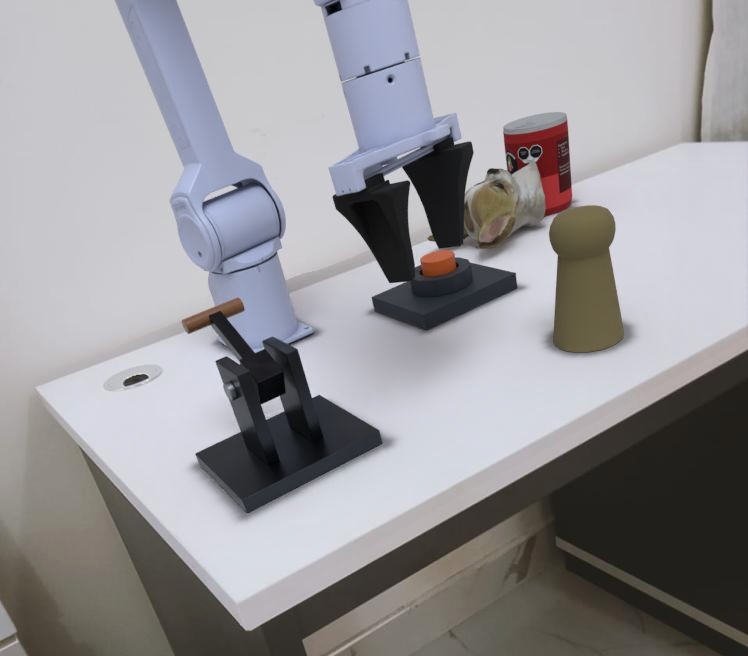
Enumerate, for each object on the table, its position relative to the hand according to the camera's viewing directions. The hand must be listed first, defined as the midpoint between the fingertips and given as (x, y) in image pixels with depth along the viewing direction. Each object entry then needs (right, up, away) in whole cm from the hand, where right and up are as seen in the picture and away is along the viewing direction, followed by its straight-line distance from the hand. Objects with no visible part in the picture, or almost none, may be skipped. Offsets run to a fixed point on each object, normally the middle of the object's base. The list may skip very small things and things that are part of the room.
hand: (427, 262), depth 59 cm
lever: (-15, -7, 0) cm, 16 cm away
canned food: (+18, +20, +42) cm, 50 cm away
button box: (+3, +3, +22) cm, 23 cm away
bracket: (-11, -15, +2) cm, 19 cm away
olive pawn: (+15, -4, +8) cm, 17 cm away
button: (+3, +5, +21) cm, 21 cm away
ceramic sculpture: (+11, +14, +35) cm, 40 cm away
